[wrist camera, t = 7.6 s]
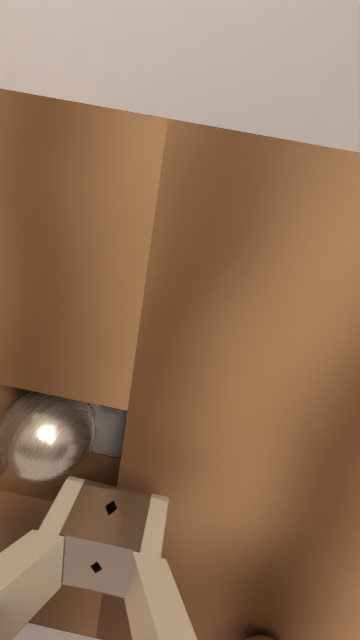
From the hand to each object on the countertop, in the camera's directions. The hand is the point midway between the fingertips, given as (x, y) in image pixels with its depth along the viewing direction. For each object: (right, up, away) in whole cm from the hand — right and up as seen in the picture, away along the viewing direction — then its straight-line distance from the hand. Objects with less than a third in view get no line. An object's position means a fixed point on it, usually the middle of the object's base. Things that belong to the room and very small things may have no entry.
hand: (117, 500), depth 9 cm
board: (+3, +1, +3) cm, 4 cm away
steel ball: (-3, +1, +2) cm, 4 cm away
